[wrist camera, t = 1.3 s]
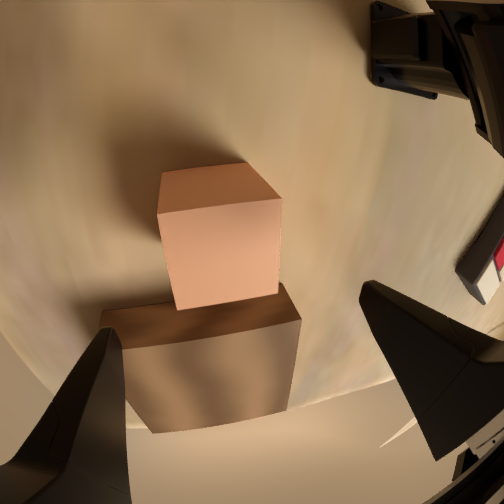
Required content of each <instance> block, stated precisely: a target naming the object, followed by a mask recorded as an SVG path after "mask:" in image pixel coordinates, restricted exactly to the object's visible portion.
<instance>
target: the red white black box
mask: <svg viewBox="0 0 504 504" xmlns="http://www.w3.org/2000/svg"><path fill="white" fill-rule="evenodd" d="M455 272H456V274H457V275H458V276H459V278H460V279H461V281H462V282H463V284H464V285H465V287H466V289H467V290H468V292H469V293H470V294H471V295H472V296H473V297H474V298H476V299H477V300H478V301H479V302H480V303H481V304H482V305H485V304H487V303H488V302H489V300H490V299H491V298H492V296H493V295H494V293H495V292H496V290H497V288H498V287H499V285H500V281H502V282H503V281H504V195H503V196H502V198H501V200H500V202H499V204H498V205H497V207H496V209H495V210H494V212H493V214H492V216H491V217H490V219H489V221H488V223H487V225H486V226H485V228H484V230H483V232H482V233H481V235H480V237H479V238H478V240H477V242H476V243H474V244H473V245H472V246H471V248H470V249H469V250H468V252H467V253H466V255H465V256H464V257H463V259H462V260H461V262H460V263H459V264H458V266H457V267H456V269H455Z"/></svg>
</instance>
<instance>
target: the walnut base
mask: <svg viewBox="0 0 504 504" xmlns="http://www.w3.org/2000/svg"><path fill="white" fill-rule="evenodd" d="M301 321H302V319H301V317H300V315H299V313H298V311H297V310H296V308H295V306H294V304H293V302H292V300H291V299H290V297H289V295H288V293H287V291H286V289H285V287H284V286H283V284H278V293H277V294H271V295H266V296H261V297H255V298H250V299H244V300H238V301H233V302H227V303H221V304H215V305H209V306H202V307H196V308H190V309H183V310H177V307H176V303H175V302H169V303H162V304H155V305H148V306H140V307H133V308H126V309H118V310H110V311H102V315H101V320H100V325H99V330H100V329H101V328H102V327H109V326H112V327H113V328H114V329H115V331H116V333H117V335H118V337H119V339H120V341H121V344H122V352H123V366H124V378H125V398H126V400H127V401H128V403H129V404H130V405H131V407H132V408H133V409H134V411H135V412H136V413H137V415H138V416H139V417H140V418H141V420H142V421H143V422H144V423H145V425H146V426H147V427H148V428H149V430H150V431H151V432H152V433H164V432H175V431H184V430H191V429H199V428H206V427H212V426H218V425H223V424H229V423H234V422H239V421H244V420H249V419H253V418H258V417H262V416H266V415H270V414H274V413H278V412H282V411H286V409H287V404H288V399H289V394H290V388H291V383H292V377H293V371H294V366H295V360H296V354H297V347H298V341H299V335H300V328H301Z"/></svg>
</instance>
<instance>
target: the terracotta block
mask: <svg viewBox="0 0 504 504" xmlns="http://www.w3.org/2000/svg"><path fill="white" fill-rule="evenodd" d="M281 213H282V198H281V197H280V196H279V195H278V194H277V193H276V192H275V191H274V189H273V188H272V187H271V186H270V185H269V184H268V183H267V182H266V181H265V180H264V179H263V178H262V177H261V176H260V175H259V174H258V173H257V172H256V171H255V170H254V169H253V168H252V167H251V165H250V164H249V163H248V162H247V163H235V164H225V165H215V166H206V167H198V168H190V169H182V170H175V171H168V172H162V177H161V184H160V192H159V200H158V209H157V218H158V223H159V229H160V234H161V239H162V245H163V250H164V254H165V259H166V264H167V269H168V273H169V278H170V282H171V286H172V291H173V295H174V299H175V303H176V307H177V310H183V309H190V308H196V307H202V306H209V305H215V304H221V303H227V302H233V301H238V300H244V299H250V298H255V297H261V296H266V295H271V294H277V293H278V284H279V263H280V240H281Z"/></svg>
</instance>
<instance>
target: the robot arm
mask: <svg viewBox="0 0 504 504" xmlns="http://www.w3.org/2000/svg"><path fill="white" fill-rule="evenodd" d="M426 2H427V4H428V5H429V7H430V9H432V10H433V11H434V12H429V13H417V14H410V13H408V12H405V11H403V10H401V9H398V8H396V7H393V6H391V5H388V4H385V3H383V2H380V1H375V2H372V3H371V5H370V9H371V42H372V82H373V84H374V85H375V86H377V87H382V88H387V89H392V90H397V91H401V92H405V93H409V94H413V95H417V96H421V97H425V98H428V99H433V100H435V99H436V98H437V96H438V93H440V94H445V95H450V96H454V97H458V98H462V99H466V100H470V103H471V107H472V110H473V114H474V118H475V122H476V123H475V127H476V131H477V133H478V134H479V135H480V136H482V137H483V138H484V139H485V140H487V141H488V142H489V143H490V144H491V145H492V146H493V148H494V149H495V150H496V151H497V152H498V153H499V154H500V155H501V156H502V157H503V158H504V0H426ZM377 6H378V7H379V9H378V8H377ZM378 77H379V78H380V82H379V81H378ZM359 303H360V306H361V308H362V311H363V313H364V315H365V317H366V320H367V322H368V324H369V327H370V329H371V331H372V334H373V336H374V338H375V340H376V342H377V343H378V345H379V347H380V349H381V351H382V352H383V354H384V356H385V358H386V360H387V362H388V364H389V366H390V367H391V369H392V371H393V373H394V375H395V377H396V379H397V381H398V383H399V385H400V387H401V389H402V391H403V393H404V395H405V397H406V399H407V401H408V403H409V405H410V407H411V409H412V411H413V413H414V415H415V417H416V419H417V422H418V424H419V426H420V428H421V430H422V432H423V435H424V437H425V439H426V441H427V443H428V446H429V448H430V450H431V452H432V455H433V457H434V459H435V461H438V460H439V459H441V458H442V457H444V456H445V455H447V454H448V453H450V452H451V451H453V450H454V449H455V448H457V447H458V446H460V445H461V444H462V443H464V442H465V441H466V443H467V444H468V446H469V447H468V448H467V449H465V450H464V451H463V452H462V453H461V454H459V455H458V457H457V462H456V466H455V471H454V475H453V479H452V481H453V482H452V483H451V484H450V485H448V486H447V487H445V488H444V489H443V490H441V491H440V492H439V493H437V494H436V495H435V496H433V497H432V498H430V499H429V500H427V501H426V502H424V503H423V504H504V341H501V340H498V339H495V338H493V337H490V336H488V335H486V334H484V333H481V332H479V331H476V330H474V329H472V328H470V327H467V326H465V325H463V324H461V323H459V322H457V321H455V320H453V319H451V318H449V317H447V316H445V315H443V314H442V313H440V312H438V311H436V310H434V309H432V308H430V307H428V306H426V305H424V304H422V303H420V302H418V301H416V300H414V299H412V298H410V297H408V296H406V295H404V294H402V293H400V292H398V291H396V290H394V289H392V288H389V287H387V286H385V285H383V284H381V283H379V282H377V281H375V280H370V281H366V282H364V283H363V285H362V289H361V293H360V296H359ZM126 449H127V448H126V421H125V378H124V366H123V352H122V344H121V341H120V339H119V337H118V335H117V333H116V331H115V329H114V328H113V327H112V326H109V327H102V328H101V329H100V330H99V331H98V333H97V334H96V336H95V337H94V338H93V340H92V341H91V343H90V344H89V346H88V347H87V348H86V350H85V351H84V353H83V354H82V356H81V357H80V359H79V360H78V361H77V363H76V364H75V366H74V367H73V369H72V370H71V372H70V373H69V375H68V376H67V378H66V380H65V381H64V383H63V384H62V386H61V387H60V389H59V390H58V392H57V394H56V395H55V397H54V398H53V400H52V402H51V403H50V405H49V406H48V408H47V410H46V411H45V413H44V414H43V416H42V418H41V419H40V421H39V422H38V424H37V425H36V426H35V428H34V429H33V431H32V432H31V434H30V435H29V436H28V437H27V439H26V440H25V442H24V443H23V444H22V446H21V447H20V449H19V450H18V452H17V453H16V454H15V456H14V457H13V458H12V459H11V460H10V461H8V462H7V463H5V464H3V465H1V466H0V504H132V501H131V496H130V495H131V494H130V486H129V475H128V463H127V450H126Z"/></svg>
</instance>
